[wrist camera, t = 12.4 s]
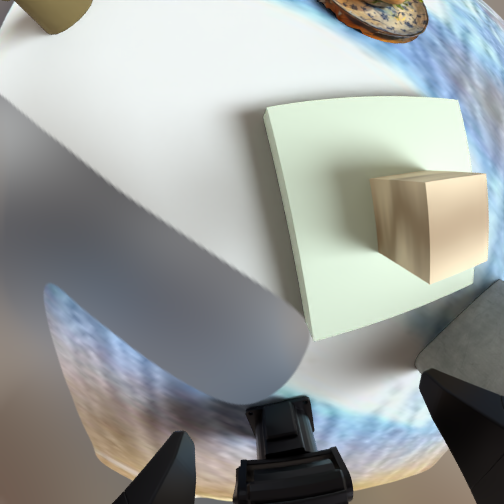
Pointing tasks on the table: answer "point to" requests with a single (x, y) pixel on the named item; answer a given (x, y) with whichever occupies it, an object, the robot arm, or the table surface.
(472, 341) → the hip flask
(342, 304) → the plinth
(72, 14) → the cork
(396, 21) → the burger
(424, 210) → the birch block
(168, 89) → the table surface
